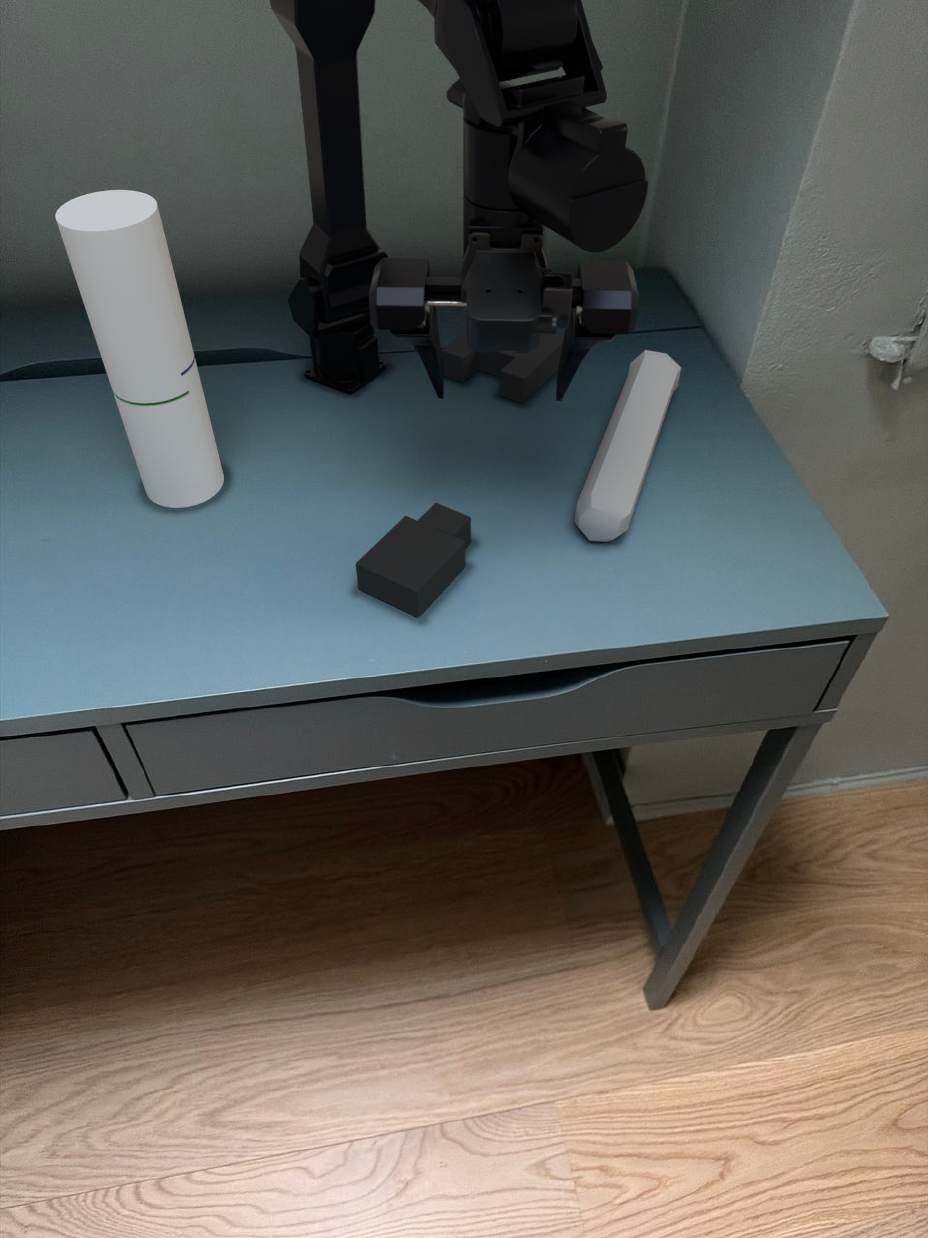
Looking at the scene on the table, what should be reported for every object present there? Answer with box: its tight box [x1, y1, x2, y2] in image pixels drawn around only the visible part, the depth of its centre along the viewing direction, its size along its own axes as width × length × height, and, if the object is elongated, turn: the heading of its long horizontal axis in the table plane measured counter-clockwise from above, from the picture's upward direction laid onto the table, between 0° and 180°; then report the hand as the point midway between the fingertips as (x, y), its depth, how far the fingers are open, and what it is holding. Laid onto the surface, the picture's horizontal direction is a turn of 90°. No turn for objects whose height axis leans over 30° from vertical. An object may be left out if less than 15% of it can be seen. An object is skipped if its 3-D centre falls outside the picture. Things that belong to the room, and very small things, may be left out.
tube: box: [574, 349, 682, 542], centre depth 84 cm, size 5×5×25 cm
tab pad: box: [355, 502, 472, 619], centre depth 75 cm, size 6×10×3 cm, turn 147°
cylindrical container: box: [54, 189, 225, 509], centre depth 74 cm, size 7×7×25 cm
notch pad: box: [441, 329, 565, 405], centre depth 96 cm, size 10×10×3 cm
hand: (499, 397), depth 71 cm, fingers open, 9 cm apart
